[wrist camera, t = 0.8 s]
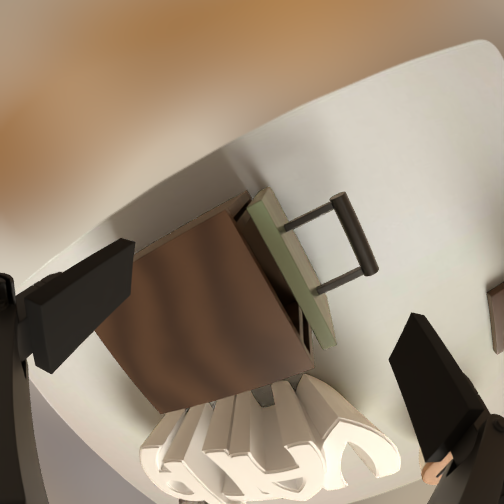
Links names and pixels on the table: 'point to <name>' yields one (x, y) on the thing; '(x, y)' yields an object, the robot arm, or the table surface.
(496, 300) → the stand
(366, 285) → the table surface
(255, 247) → the drawer
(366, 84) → the table surface
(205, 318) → the cabinet
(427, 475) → the trinket box
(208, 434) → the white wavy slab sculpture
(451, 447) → the robot arm
